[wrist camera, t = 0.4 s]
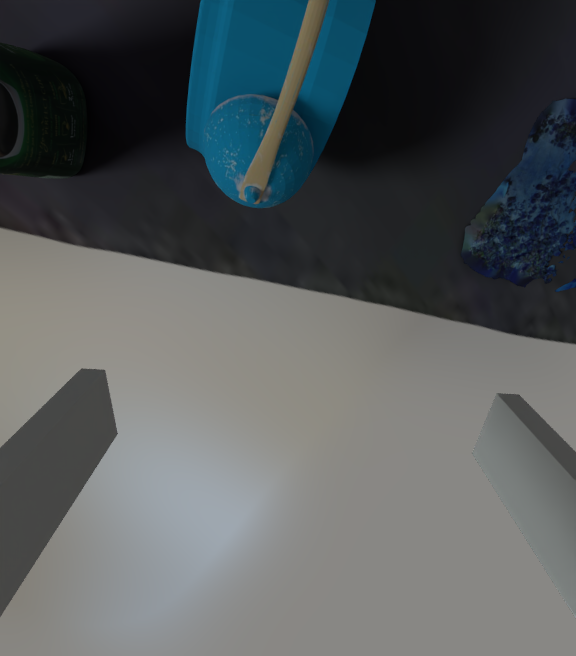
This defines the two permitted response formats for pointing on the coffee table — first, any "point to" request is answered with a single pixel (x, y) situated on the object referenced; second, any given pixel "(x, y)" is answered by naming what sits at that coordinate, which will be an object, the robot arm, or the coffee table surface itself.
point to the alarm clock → (270, 89)
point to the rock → (530, 206)
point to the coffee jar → (40, 116)
